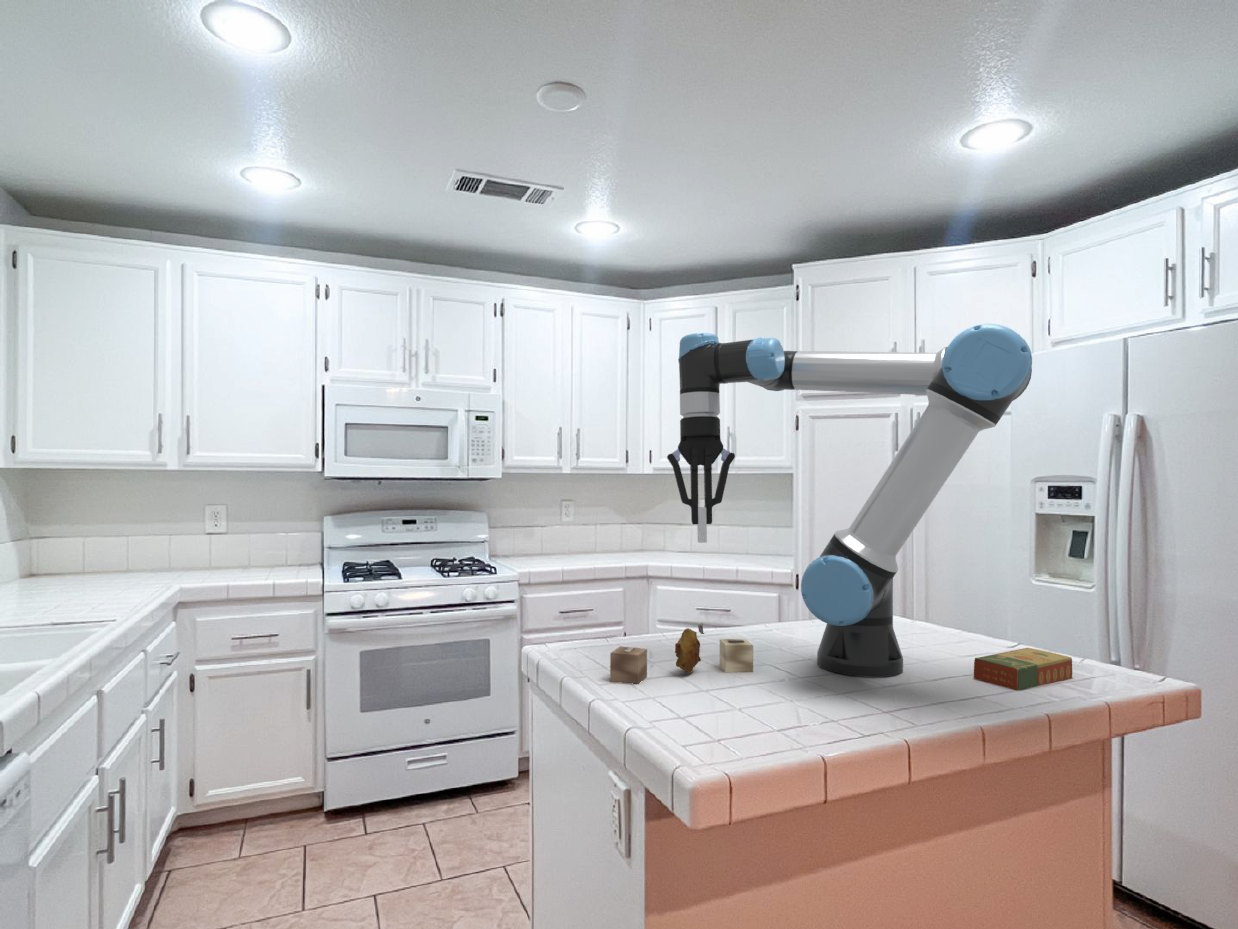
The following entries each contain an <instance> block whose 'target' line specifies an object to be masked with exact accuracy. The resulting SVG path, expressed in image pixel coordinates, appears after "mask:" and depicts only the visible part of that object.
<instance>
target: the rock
mask: <svg viewBox="0 0 1238 929" xmlns="http://www.w3.org/2000/svg"><path fill="white" fill-rule="evenodd" d="M703 627H704V623H703V622H701V623H698V624H697V628H698V633H699V634H700V635H704V634H705V633H706V632H704V628H703ZM674 646H675V648H674V650H675V651H674V653H675V656H676V658H677V659H676V662H675V667H678V669H681V670H682V671H684V673H686V674H689V675H690V674H691V673H692V672H693V670H694V668H695V667H696V666H697V665H698V663H699V662H701V661H702V660H701V657H700V650H701V649H700V648H701V642H700V641H699V639H698V634H697V631H694V630H693V629H691V628H688V627H687V628H685V629H684V630H683V631H682V633H681V636H680V638H679V639H678V640H677V642H675V644H674Z"/></svg>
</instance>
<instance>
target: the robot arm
mask: <svg viewBox="0 0 1238 929" xmlns="http://www.w3.org/2000/svg"><path fill="white" fill-rule="evenodd" d="M678 350H679V353H678V368H679V369H678V370H679V371H678V372H679V415H680V416H681V417H682V418H680V420H679V421H680V422H679V424H680V426H679V428H680V430H679V434H680V435H679V436H680V440H679V443H678V445H677V449H676V450H674V451H673V452H671V453H669V454H667V457H666V458H667V461H668V463H670V465H671V466H672V470H673V474H674V477H675V481H676V485H677V489H678V492H679V496H680V500H681V503H682V504H684V505H686V506H689V507H690V511H691V514H690V517H691V524H692V525H696V526H697V529H696V530H697V543H701V544H702V543H704V544H705V543H706V544H707V543H708V535H707V534H708V533H707V532H708V530H707V528H708V527H707V525H712V523H713V507H714V506H716V505H718V504H721V503H722V501H723V497H724V492H725V488H726V484H727V479H728V475H729V469H730V465H731V464H732V462H733V461H734V459H735V458H736V454H735V453H734V452H730V451H728V449H725V447H724V444H723V443H722V438H721V419H720V418H719V417H718V416H719V415H720V414H721V406H720V405H721V402H720V401H721V400H720V399H721V398H720V384H723V385H724V384H732V383H733V384H734V383H750V384H751V385H755V386H758V387H761V388H763V389H765V390H767V391H774V392H779V391H784V390H785V391H786V390H788V391H789V390H791V391H793V390H795V391H798V390H799V391H819V392H821V391H822V392H839V393H840V392H842V393H843V392H844V393H865V394H866V393H869V394H886V395H887V394H891V395H892V394H893V395H913V396H926V397H927V400H928V404H927V407H926V408H925V410H924V411H923V413H922V414H921V416H920V417H919V419H917V420H918V421H917V422H916V423H915V425H914V427H913V428H912V430H911V431H910V433H909V434H908V436H907V438H906V439H905V441H904V442H903V444H902V445H901V447H900V448H899V450H898V451H897V453H896V455H895V456H894V458H893V459H892V461H891V462H890V464H889V465H888V467H887V469H886V470H885V472H884V473H883V474H882V475H881V478H880V480H879V481H878V482H877V484H876V486H875V487H874V489H873V491H872V492H871V493H870V495H869V497H868V498H867V499H866V500H865V503H864V504H863V506H862V507H861V509H860V511H859V512H858V513H857V515H856V517H855V519H854V520H853V522H852V523H851V524H850V526H849V527H847V528H845V529H840V530H836V531H835V532H834V534H833V535H832V537H831V538H830V540H829V541H828V543H827V545H826V546H825V548H824V549H823V551H822V553H821V554H820V555H819V557H817V558H816V559H814V560H812V561H811V563H810V564H808V566H807V567H806V569H805V570H804V573H803V574H802V578H801V581H800V592H801V596H802V600H803V602H804V605H805V606H806V608H807V609H808V611H809V612H810V613H811V614H812V616H814V617H815V618H816V619H818V620H819V621H821V622H823V623H825V624H826V626H825V629H824V631H823V634H822V636H821V637H822V638H821V640H820V644H819V646H818V649H817V656H816V657H817V661H816V662H817V666H819V667H821V668H822V669H824V670H826V671H829V672H833V673H837V674H842V675H848V676H855V677H867V678H869V677H871V678H877V677H879V678H881V677H882V678H883V677H891V676H892V677H893V676H897V675H899V674H902V673H903V671H904V658H903V654H902V651H901V647H900V644H899V642H898V638H897V636H896V633H895V629H894V577H895V576H896V574H897V573H898V571H899V567H898V566H899V565H898V563H897V555H898V553H899V552H900V550H901V549H902V548H903V546H904V545H905V543H906V542H907V540H908V538H909V537H910V536H911V534H912V533H913V531H914V530H915V528H916V526H917V525H918V524H919V522H921V519H922V518H923V516H924V515H925V513H926V512H927V510H928V508H930V506H931V504H932V502H934V501H935V499H936V497H937V495H938V494H939V492H940V491H941V489H942V488H943V486H944V485H945V484H946V482H947V480H948V479H949V477H950V476H951V475H952V473H953V471H954V470H955V468H956V467H957V465H958V464H959V462H960V461H961V459H962V458H963V457H964V455H965V453H966V452H967V450H968V449H969V448H970V447H971V444H972V443H974V442H973V441H974V440H975V439H976V437H977V435H978V434H979V433H980V432H982V431H983V430H984V431H985V430H988V429H991V428H995V427H996V426H997V425H998V423H999V422H1000V420H1001V419H1002V417H1003V415H1004V414H1005V413H1006V411H1007V410H1008V408H1009V407H1010V405H1011V404H1012V402H1013V401H1015V400H1017V399H1018V398H1019V397H1021V395H1022V394H1023V393H1024V392H1025V391H1026V390H1027V387H1028V386H1029V384H1030V381H1031V378H1032V374H1033V372H1032V371H1033V369H1032V368H1033V366H1032V365H1033V356H1032V351H1031V348H1030V345H1029V344H1028V343H1027V341H1026V340H1025V338H1024V337H1022V336H1021V335H1020V334H1019V333H1018V332H1016V330H1013V329H1012V328H1009V327H1007V326H1004V325H1001V324H995V323H983V324H976V325H974V326H971V327H969V328H966V329H964V330H963V331H962V332H960V333H958V334H957V335H956V336H954V338H953V339H952V340H951V341H950V343H949V344H948V346H945V347H943V348H942V349H940V350H939V351H938V352H911V351H910V352H908V351H907V352H904V351H903V352H901V351H900V352H899V351H829V350H828V351H827V350H826V351H824V350H823V351H816V350H815V351H814V350H813V351H812V350H809V351H807V350H798V351H795V350H784V348H783V345H782V343H781V341H780V340H779V339H777V338H775V337H767V338H765V337H764V338H763V337H757V338H754V339H746V340H739V341H737V340H736V341H731V342H722V343H721V342H720V341H719V337H718V335H716V334H715V333H709V332H702V333H701V332H700V333H698V332H696V333H690V334H685V335H684V336H682V337H681V339H680V341H679V349H678ZM720 455H721V457H720V459H721V462H722V464H721V466H720V470H719V471H720V472H719V476H718V481H717V485H716V490H715V493H714V497H713V483H712V482H713V480H712V479H713V477H712V475H713V474H712V470H713V464H714V463H715V462H716V460H717V459H718V457H719V456H720ZM680 456H682V457H683V459H684V460H685V462H686V463H687V464H688V465H689V468H690V498H689V496H688V493H687V489H686V486H685V481H684V477H683V474H682V469H681V466H680V463H679V462H680V460H681V457H680ZM699 466H702V467H703V487H704V490H703V491H704V492H703V493H704V507H703V506H699Z"/></svg>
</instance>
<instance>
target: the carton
mask: <svg viewBox="0 0 1238 929" xmlns="http://www.w3.org/2000/svg"><path fill="white" fill-rule="evenodd" d="M973 679H974V680H976V681H980V682H983V681H984V682H983V683H988V684H993V685H995V686H999V687H1003V688H1007V689H1011V690H1015V691H1023V690H1027V689H1031V688H1032V689H1033V688H1036V687H1039V686H1040V687H1041V686H1044V685H1049V684H1053V683H1057V682H1062V681H1066V680H1071V679H1073V659H1072V657H1071V656H1068V655H1065V654H1060V653H1056V652H1051V651H1046V650H1041V649H1037V648H1031V647H1025V648H1019V649H1014V650H1009V651H1005V652H999V653H994V654H989V655H984V656H978V657H975V658H974V662H973Z"/></svg>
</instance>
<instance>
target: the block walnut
mask: <svg viewBox="0 0 1238 929" xmlns="http://www.w3.org/2000/svg"><path fill="white" fill-rule="evenodd" d="M609 655H610V658H609V659H610V661H609V662H610V663H609V664H610V667H609V668H610V674H609V676H610V679H609V682H610V683H618V682H622V684H628V683H633V684H632V685H637V684H638V685H639V684H641V683H642V682H643V681H644V680H646V679H647V678H648V648H643V647H642V648H641V647H631V646H619V647H617V648H616V649H614V650H612V651H611V652H610V654H609ZM641 681H642V682H641ZM640 682H641V683H640Z"/></svg>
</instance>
